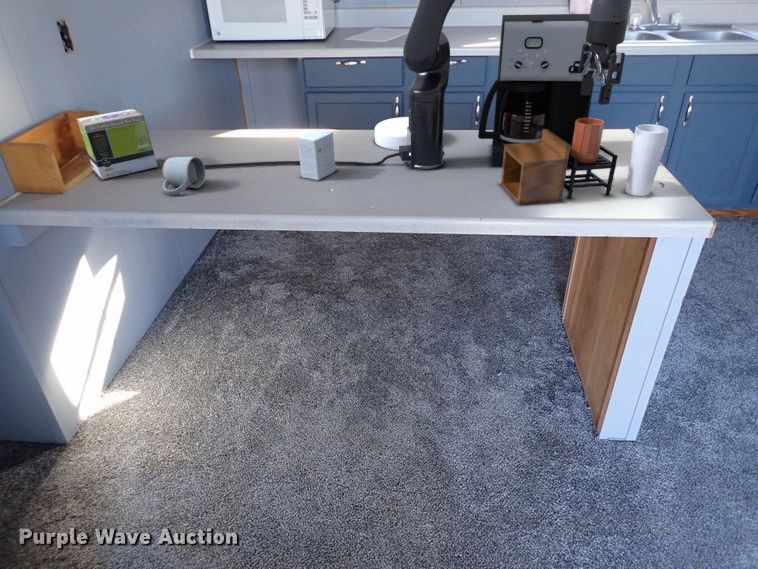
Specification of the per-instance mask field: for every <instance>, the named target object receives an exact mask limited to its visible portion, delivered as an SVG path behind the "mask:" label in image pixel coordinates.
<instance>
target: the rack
mask: <svg viewBox="0 0 758 569" xmlns="http://www.w3.org/2000/svg"><path fill="white" fill-rule="evenodd" d="M599 151H601V152H603V153H605V154H606V155H608V156H609V157H611V160H609V158H607V157H606V156H603V155H602V154H601V153H599V154H598V159H597V161H595V162H578V158H577V157H575V156H574V155H573V154H571V151H570V152H569V158H568V164H567V167H568V168H570V169H569V170H570V174H568V175H567V174H566V177H565V183H564V189H565V190H566V191H567V195H566V198H567V200H572V199H573V193H574V189H582V188H595V187H597V188H598V187H604V188H605V193H604V196H606V197H610V196H611V191H612V186H613V183H614V182H613V181H614V177H615V173H616V172H615V171H616V167H617V162H618V156H619V155H618V154H616V153H615V152H613V151H611V150H610V149H608V148H606V147H605V146H604V145H602V144H600V149H599ZM606 169H607V170H608V169H609V173H608V178H607V181H605V180H604V179H602V178H601V177H600V176H598V175H596V173H594V172H592V170H593V171H595V170H606ZM579 171H585V172H586V173H580V174H579V173H578V174H577V172H579Z"/></svg>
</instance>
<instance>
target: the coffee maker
mask: <svg viewBox="0 0 758 569" xmlns="http://www.w3.org/2000/svg"><path fill="white" fill-rule="evenodd" d="M589 16H590V13H557V14H556V13H555V14H554V13H548V14H547V13H546V14H545V13H544V14H539V13H538V14H502V16H501V17H502V18H501V28H500V29H501V30H500V40H499V52H498V54H499V55H498V65H497V66H498V67H497V78H496V79H495V81H494V82H493V84H492V85H491V87H490V88H489V91H488V93H487V95H486V97H485V99H484V102H483V104H482V108H481V113H480V118H479V123H478V124H479V125H478V132H477V133H478V134H477V136H478V139H479V140H491V141H492V142H491V167H492V168H493V167H494V168H495V167H496V168H502V167H503V156H504V145H505V144H517V143H532V142H541V140H542V132H543V129H548V130H549V131H551V132H552V133H553V134H555V135H556V136H558V137H559V138H561V139H562V140H564V141H565V142H566V143H568V144H569V145H570V151H571V148H572V142H573V135H574V129H575V123H576V119H579V118H589V115H590V109H591V102H592V96H593V91H594V85H595V82H601V77H600V76H598V71H596V73H595V75H594V76H593V84H592V90H591V94H590V95H581V94H580V91H581V85H582V79H583V77H582V76H581V74H582V73H579V72H578V69H579V63H580V58H581V53H582V47H583V44H591V43H588V42H586V34H587V28H588V22H589ZM585 62H586V61H585ZM585 62H584V64H585ZM583 67H584V66H583ZM494 97H495V104H494V114H493V116H494V117H493V126H492V127H493V129H492V131H490V130H489V131H487V123H488V118H489V113H490V111H491V110H490V109H491V106H492V104H493V100H494ZM570 151H569V152H570ZM567 170H571V169H570V168H568V167H567Z"/></svg>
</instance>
